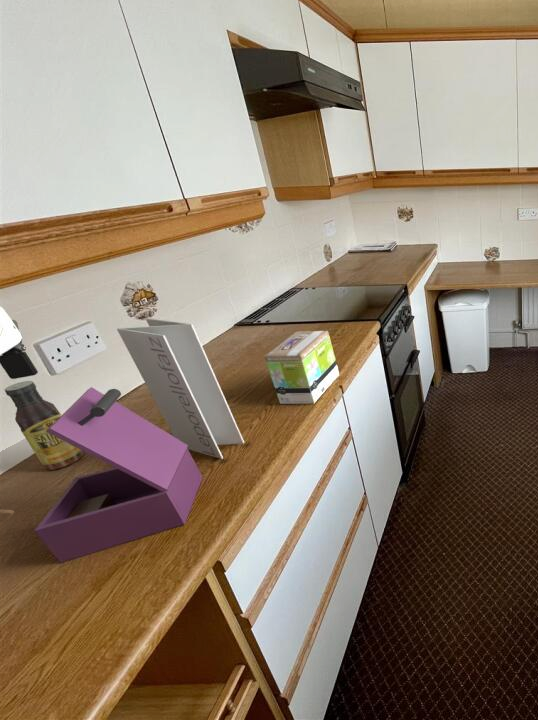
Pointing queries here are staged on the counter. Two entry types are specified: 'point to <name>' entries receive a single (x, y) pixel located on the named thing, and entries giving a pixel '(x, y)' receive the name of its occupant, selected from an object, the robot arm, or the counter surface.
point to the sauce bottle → (41, 426)
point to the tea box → (302, 367)
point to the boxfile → (117, 510)
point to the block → (92, 505)
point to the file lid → (120, 438)
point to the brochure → (182, 384)
